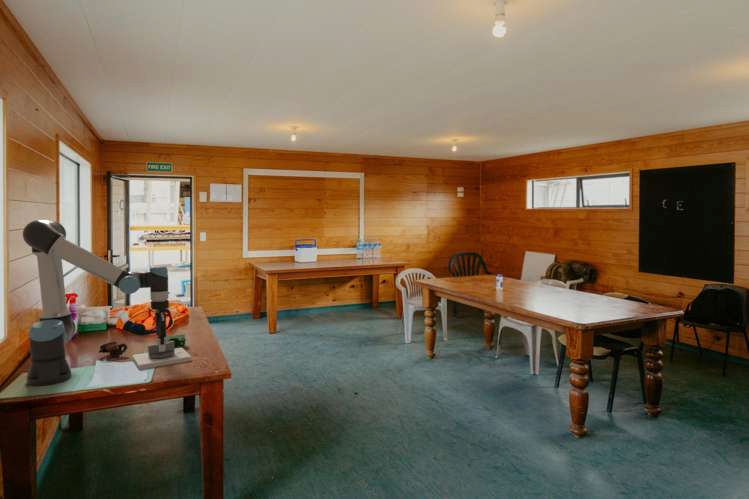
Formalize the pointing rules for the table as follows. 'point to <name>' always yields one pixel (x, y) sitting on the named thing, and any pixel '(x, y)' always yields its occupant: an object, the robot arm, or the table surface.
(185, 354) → the dial board
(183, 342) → the clamp
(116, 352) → the pottery mug
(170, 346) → the dial
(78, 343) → the table surface
